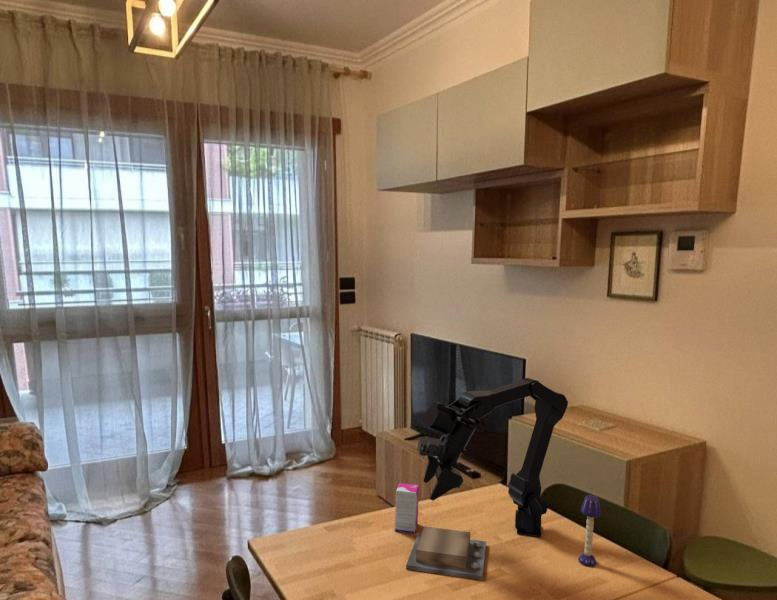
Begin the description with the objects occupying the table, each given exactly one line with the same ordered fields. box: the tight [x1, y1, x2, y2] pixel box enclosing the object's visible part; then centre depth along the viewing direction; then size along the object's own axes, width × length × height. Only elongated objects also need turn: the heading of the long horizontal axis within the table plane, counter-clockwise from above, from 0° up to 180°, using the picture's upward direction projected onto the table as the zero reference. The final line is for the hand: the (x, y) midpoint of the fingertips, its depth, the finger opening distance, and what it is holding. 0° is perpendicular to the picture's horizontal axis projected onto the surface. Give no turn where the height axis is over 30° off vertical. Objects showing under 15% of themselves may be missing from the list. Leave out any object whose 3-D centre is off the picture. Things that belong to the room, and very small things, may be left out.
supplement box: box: [394, 482, 420, 534], centre depth 149 cm, size 6×6×12 cm
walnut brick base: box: [405, 526, 487, 581], centre depth 134 cm, size 18×16×4 cm
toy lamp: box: [577, 494, 602, 568], centre depth 132 cm, size 5×5×17 cm
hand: (428, 490), depth 139 cm, fingers open, 9 cm apart
